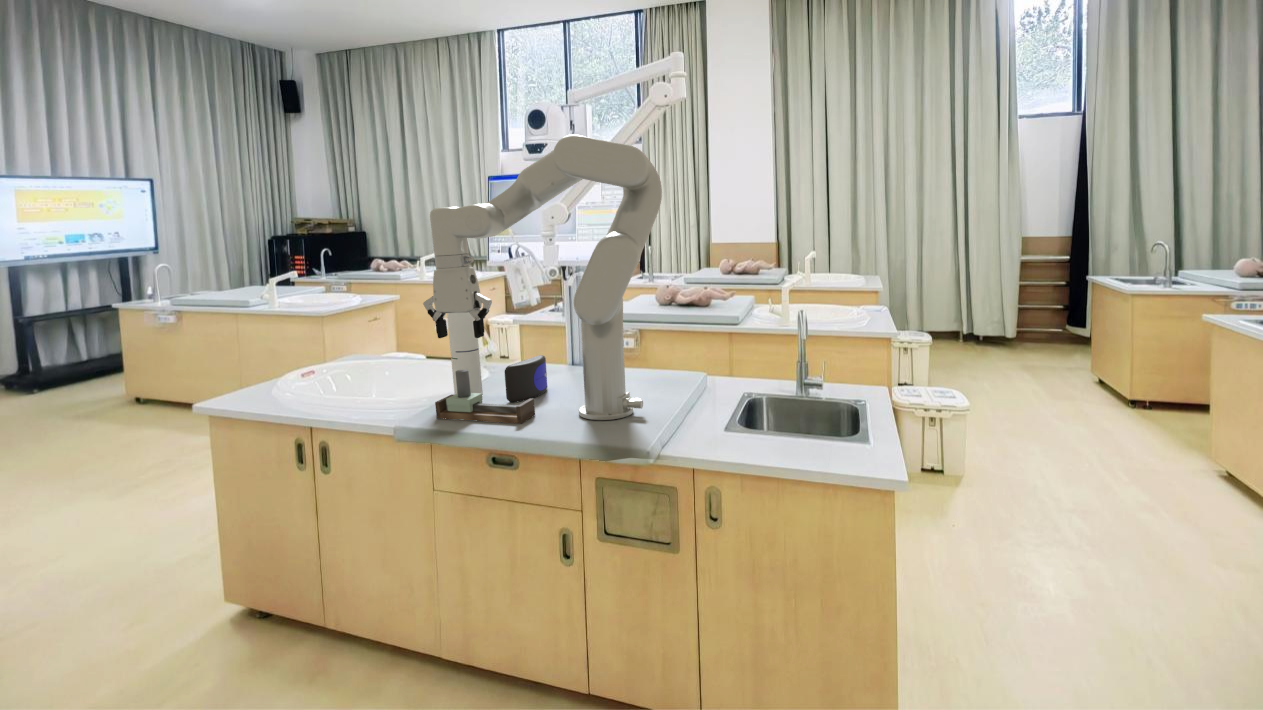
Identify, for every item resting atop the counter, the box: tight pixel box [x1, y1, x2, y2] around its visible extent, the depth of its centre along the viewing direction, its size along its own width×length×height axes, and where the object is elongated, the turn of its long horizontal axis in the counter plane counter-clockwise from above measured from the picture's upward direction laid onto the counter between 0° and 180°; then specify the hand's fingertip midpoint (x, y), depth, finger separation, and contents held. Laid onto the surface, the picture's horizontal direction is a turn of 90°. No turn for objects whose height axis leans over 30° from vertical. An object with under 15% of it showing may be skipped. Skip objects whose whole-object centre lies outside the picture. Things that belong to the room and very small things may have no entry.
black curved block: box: [504, 354, 548, 403], centre depth 187 cm, size 16×5×9 cm, turn 152°
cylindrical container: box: [446, 312, 484, 396], centre depth 187 cm, size 7×7×25 cm
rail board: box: [434, 394, 536, 425], centre depth 170 cm, size 22×7×4 cm, turn 72°
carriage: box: [446, 370, 483, 412], centre depth 170 cm, size 6×6×9 cm
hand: (461, 337), depth 168 cm, fingers open, 9 cm apart
